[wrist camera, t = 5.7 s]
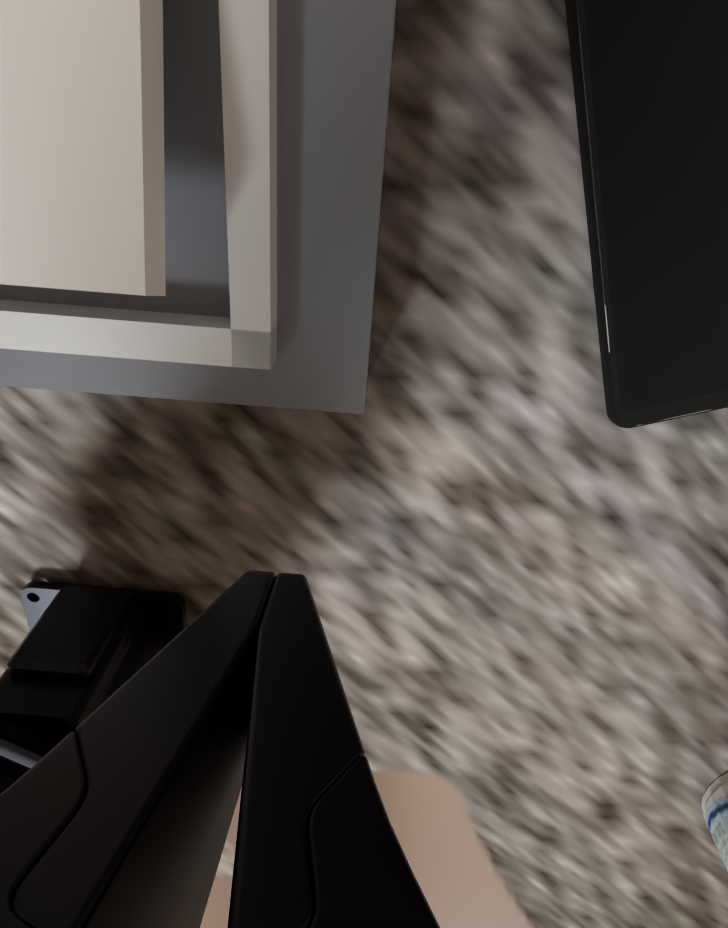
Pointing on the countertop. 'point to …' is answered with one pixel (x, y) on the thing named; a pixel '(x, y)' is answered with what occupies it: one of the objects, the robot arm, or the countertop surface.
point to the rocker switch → (82, 145)
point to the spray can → (718, 814)
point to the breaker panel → (243, 220)
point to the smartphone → (656, 199)
